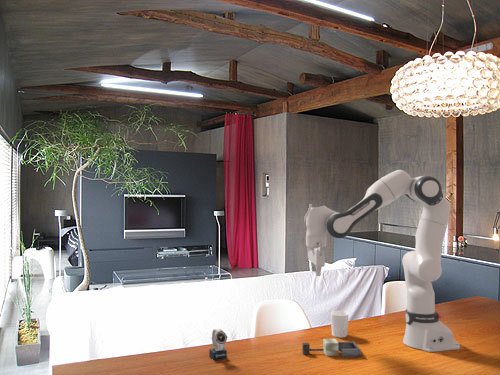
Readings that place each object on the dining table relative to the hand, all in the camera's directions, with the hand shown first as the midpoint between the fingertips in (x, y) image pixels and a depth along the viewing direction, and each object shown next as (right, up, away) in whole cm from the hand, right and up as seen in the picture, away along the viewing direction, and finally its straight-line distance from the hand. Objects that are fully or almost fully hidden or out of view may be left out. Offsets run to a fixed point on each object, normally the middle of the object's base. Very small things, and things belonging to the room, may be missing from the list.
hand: (315, 273), depth 189 cm
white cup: (+12, -29, +7) cm, 32 cm away
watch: (-41, -29, -20) cm, 54 cm away
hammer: (-1, -29, -15) cm, 33 cm away
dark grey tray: (+11, -29, -14) cm, 34 cm away
